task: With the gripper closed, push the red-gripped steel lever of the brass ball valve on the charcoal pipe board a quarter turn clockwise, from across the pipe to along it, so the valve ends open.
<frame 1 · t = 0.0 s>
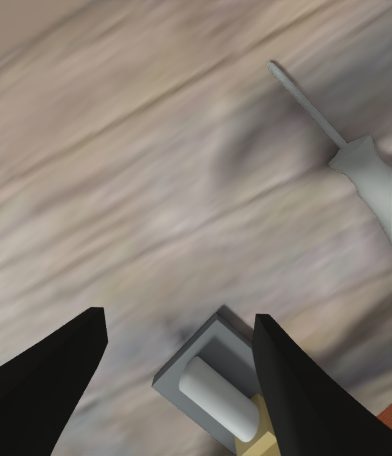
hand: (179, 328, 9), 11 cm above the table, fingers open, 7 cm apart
screwdriver: (347, 172, 19), on the table
valve stand: (266, 414, 21), on the table
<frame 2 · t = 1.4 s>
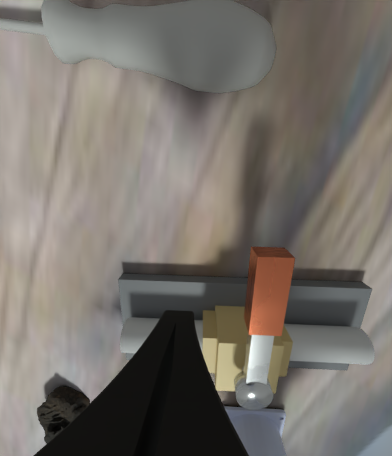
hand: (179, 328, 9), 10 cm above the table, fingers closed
screwdriver: (104, 51, 15), on the table
valve lever: (260, 336, 13), point 7 cm above the table, hinge at 0.0°
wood: (81, 434, 28), on the table
valve stand: (236, 318, 21), on the table
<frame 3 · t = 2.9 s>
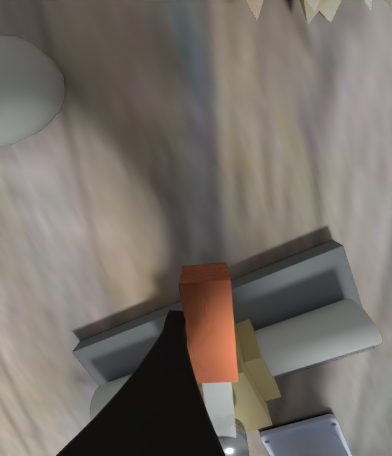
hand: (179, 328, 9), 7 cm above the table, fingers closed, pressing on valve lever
valve lever: (216, 379, 10), point 7 cm above the table, hinge at 19.6°, touching gripper
valve stand: (216, 338, 18), on the table
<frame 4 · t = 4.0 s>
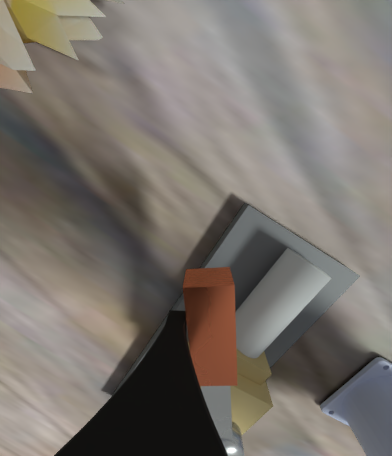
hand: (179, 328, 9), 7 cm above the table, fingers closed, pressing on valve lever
valve lever: (215, 382, 10), point 7 cm above the table, hinge at 54.1°, touching gripper
valve stand: (213, 340, 18), on the table
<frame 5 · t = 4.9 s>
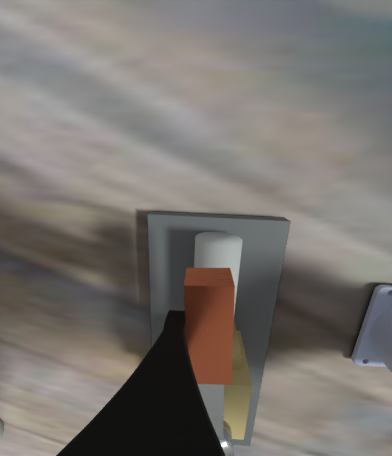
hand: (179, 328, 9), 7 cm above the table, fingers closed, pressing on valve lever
valve lever: (209, 381, 10), point 7 cm above the table, hinge at 86.3°, touching gripper
valve stand: (208, 340, 18), on the table
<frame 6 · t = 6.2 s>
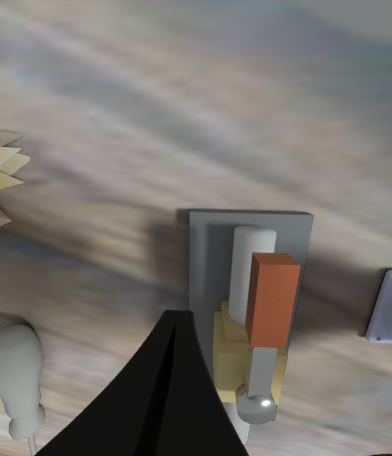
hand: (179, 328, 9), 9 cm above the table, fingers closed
screwdriver: (38, 393, 25), on the table
valve lever: (262, 347, 12), point 7 cm above the table, hinge at 89.6°
valve stand: (237, 324, 20), on the table
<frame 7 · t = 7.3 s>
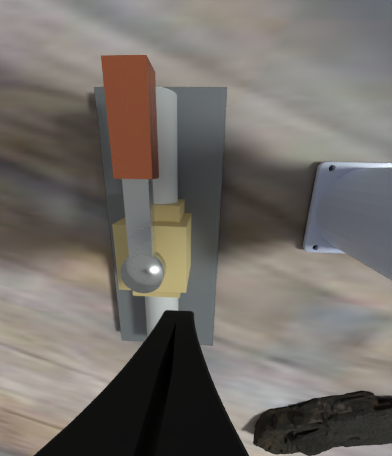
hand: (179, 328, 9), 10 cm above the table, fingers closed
valve lever: (138, 194, 11), point 7 cm above the table, hinge at 89.6°
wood: (334, 410, 25), on the table
valve stand: (166, 235, 19), on the table
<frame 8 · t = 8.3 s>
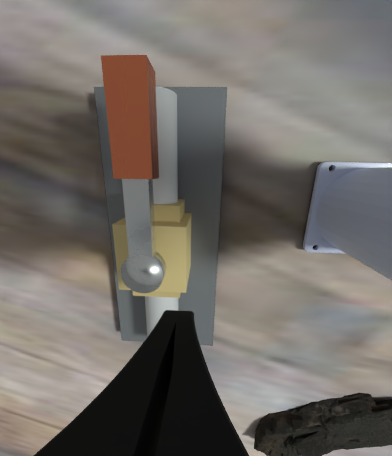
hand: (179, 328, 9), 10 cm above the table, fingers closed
valve lever: (138, 194, 11), point 7 cm above the table, hinge at 89.6°
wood: (334, 412, 25), on the table
valve stand: (166, 235, 19), on the table
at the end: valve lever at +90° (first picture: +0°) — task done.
